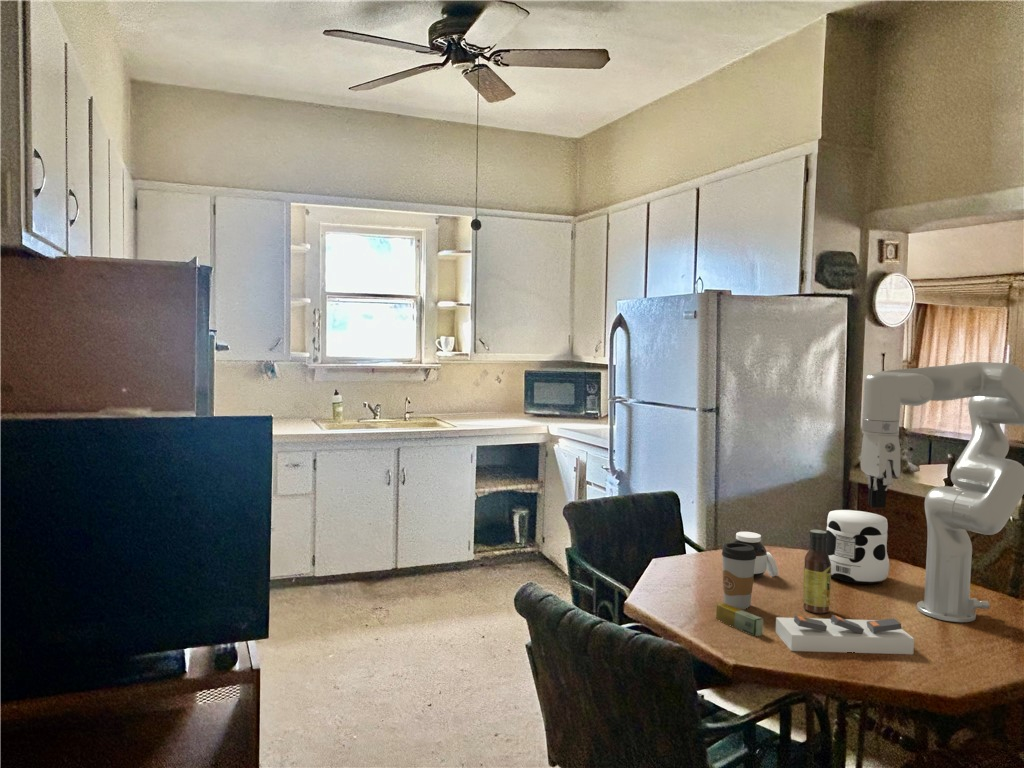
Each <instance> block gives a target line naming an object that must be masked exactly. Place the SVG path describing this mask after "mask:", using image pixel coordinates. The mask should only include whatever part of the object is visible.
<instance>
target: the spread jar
mask: <svg viewBox="0 0 1024 768" xmlns="http://www.w3.org/2000/svg"><path fill="white" fill-rule="evenodd" d="M761 541H762V535H761V534H760V533H756V532H751V531H738V532H736V534H735V539H734V540H733V542H732V543H743V544H748V545H751V546H753V547H754V551H755V552H756V559H755V566H754V578H753V579H758V578H760V577H761V576H763V575H764V574H765V573H766V571H767V572H768V574H769V575H770V576H771V577H775V576H776V577H777V576H778V575H779V568H778V565H777V562H776V560H775V558H774V556H773V555H772V554H771V553H770V552H769V551H767V549H766V547H765V546H764V544H763V542H761Z"/></svg>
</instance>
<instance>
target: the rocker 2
mask: <svg viewBox="0 0 1024 768" xmlns="http://www.w3.org/2000/svg"><path fill="white" fill-rule="evenodd" d="M877 620H878V621H871V622H867V627H868V628H869V629H870V630H871V631H872V632H873V633H876V632H884V631H891V630H898V629H902V630H903V628H902V623H901V622H899V621H898V620H897V619H896V618H895V617H894V618H887V619H886V618H885V619H881V620H880V619H877Z"/></svg>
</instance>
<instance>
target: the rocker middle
mask: <svg viewBox="0 0 1024 768" xmlns="http://www.w3.org/2000/svg"><path fill="white" fill-rule="evenodd" d="M829 619H830V620H831V621H832V622H833V623H835V624H836V625H838V626H840V627H843V628H846V629H848V630H851V631H854V632H857V633H859V634H862V633H863V631H864V629H863V628H862V627H861V626H860V625H858V624H856V623H854V622H851V621H848V620H845V619H846V618H843V617H841V616H837V615H835V614H831V617H830V618H829Z"/></svg>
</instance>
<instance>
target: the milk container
mask: <svg viewBox="0 0 1024 768" xmlns="http://www.w3.org/2000/svg"><path fill="white" fill-rule="evenodd" d="M826 523H827V524H826V532H827V538H826V549H827V553H828V556H829V559H830V562H831V578H833V579H838V580H841V581H843V582H848V583H852V584H861V585H864V584H865V585H872V584H879V583H881V582H884V581H886V579H887V578H888V575H889V572H890V561H889V555H888V552H887V551H888V549H887V547H888V544H887V542H888V529H889V528H888V527H889V525H888V519H887V518H886V517H885V516H883V515H881V514H878V513H873V512H868V511H862V510H852V509H836V510H835V509H834V510H831V511H829V512H828V515H827V520H826Z"/></svg>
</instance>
